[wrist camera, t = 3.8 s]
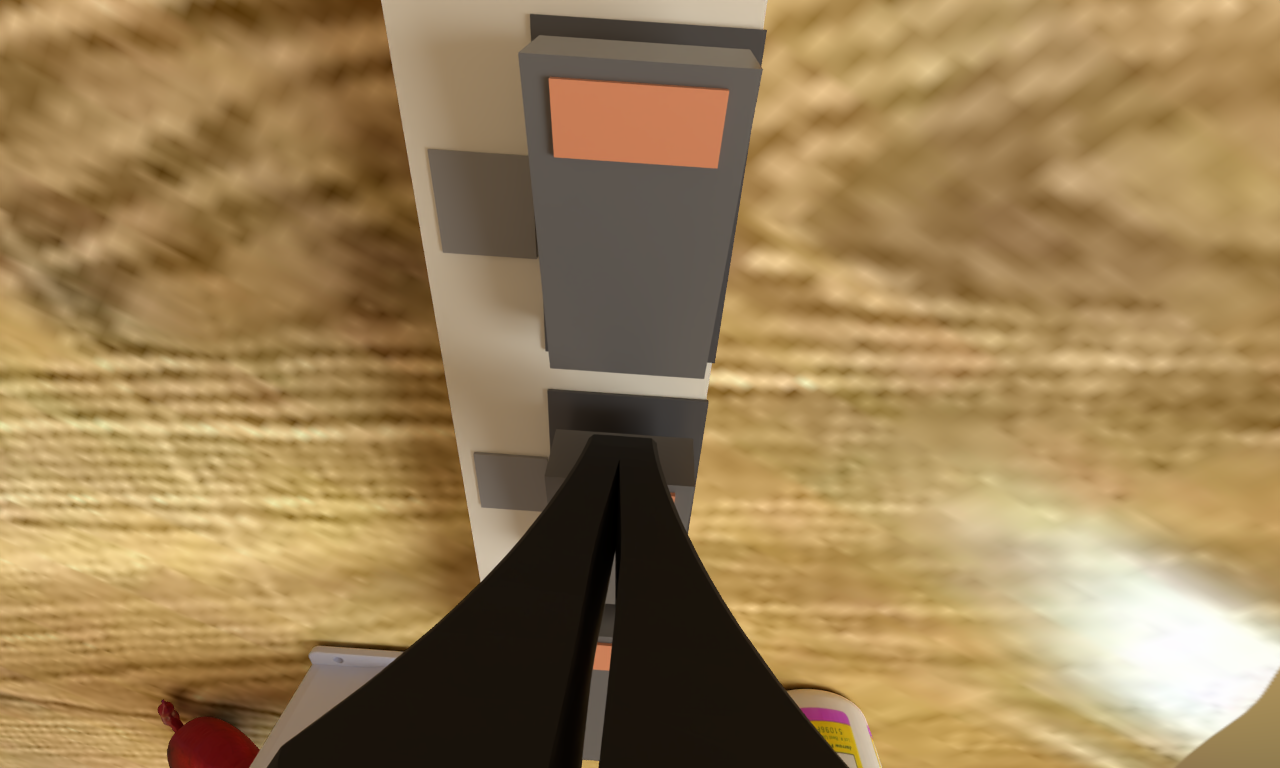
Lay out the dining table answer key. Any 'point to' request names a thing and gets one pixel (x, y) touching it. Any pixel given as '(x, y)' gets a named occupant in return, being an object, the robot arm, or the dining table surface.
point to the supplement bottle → (839, 726)
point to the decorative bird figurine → (206, 742)
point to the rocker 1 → (599, 686)
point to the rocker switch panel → (522, 239)
